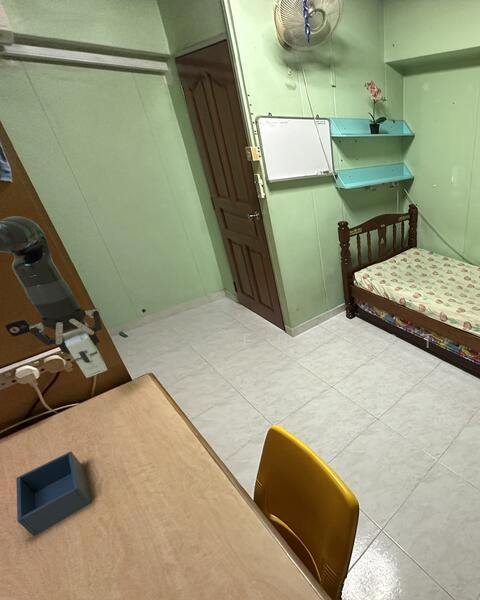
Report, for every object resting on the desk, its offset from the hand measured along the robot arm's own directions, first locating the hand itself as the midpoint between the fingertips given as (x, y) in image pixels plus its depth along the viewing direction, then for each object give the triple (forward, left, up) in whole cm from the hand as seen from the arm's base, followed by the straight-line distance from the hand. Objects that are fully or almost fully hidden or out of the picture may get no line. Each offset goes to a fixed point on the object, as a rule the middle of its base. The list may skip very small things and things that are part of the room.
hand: (82, 348), depth 89 cm
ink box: (0, 0, -8) cm, 8 cm away
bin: (+8, -31, -21) cm, 38 cm away
